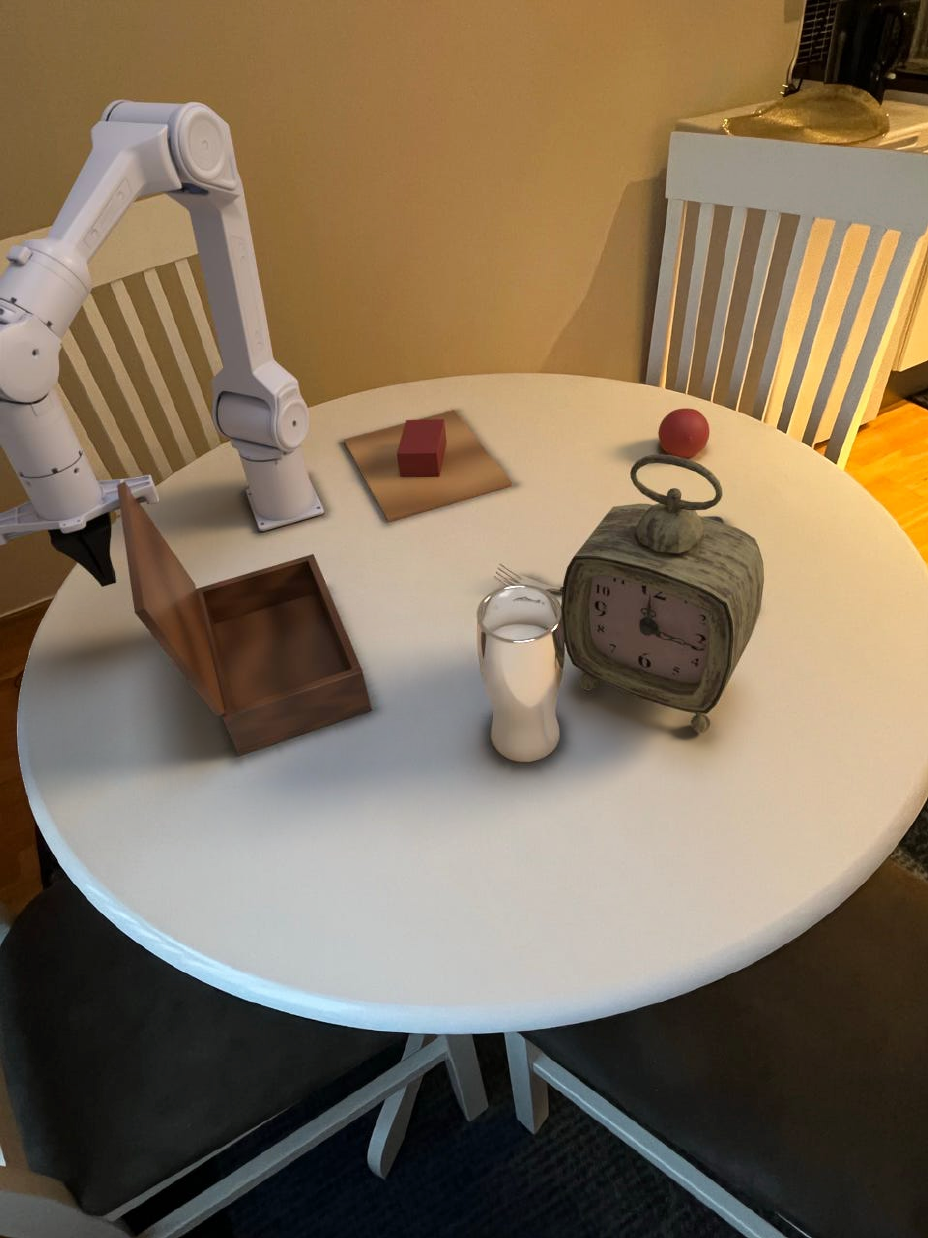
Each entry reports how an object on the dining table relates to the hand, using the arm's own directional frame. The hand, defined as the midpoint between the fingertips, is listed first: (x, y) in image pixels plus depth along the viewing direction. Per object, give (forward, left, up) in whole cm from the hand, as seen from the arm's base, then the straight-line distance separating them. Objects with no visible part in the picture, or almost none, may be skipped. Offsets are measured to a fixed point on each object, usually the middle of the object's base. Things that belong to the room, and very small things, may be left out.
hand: (108, 579), depth 81 cm
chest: (+10, +13, -9) cm, 19 cm away
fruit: (-4, +67, -9) cm, 68 cm away
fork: (+13, +43, -9) cm, 46 cm away
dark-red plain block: (-18, +38, -8) cm, 43 cm away
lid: (+10, +6, +4) cm, 12 cm away
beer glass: (+28, +31, -9) cm, 43 cm away
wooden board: (-18, +38, -9) cm, 43 cm away
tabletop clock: (+28, +44, -9) cm, 53 cm away
